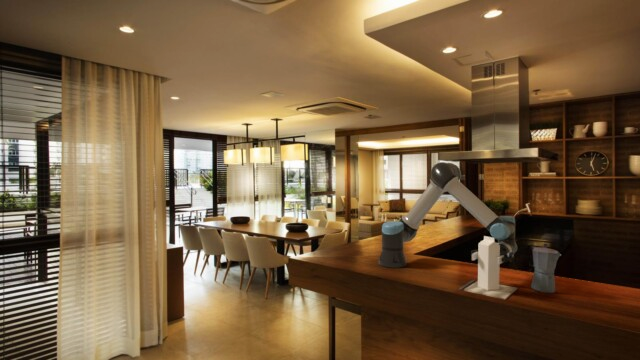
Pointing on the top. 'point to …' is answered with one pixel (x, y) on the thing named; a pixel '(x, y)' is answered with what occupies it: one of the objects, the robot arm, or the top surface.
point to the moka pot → (543, 268)
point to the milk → (488, 264)
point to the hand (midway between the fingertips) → (485, 259)
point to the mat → (500, 293)
